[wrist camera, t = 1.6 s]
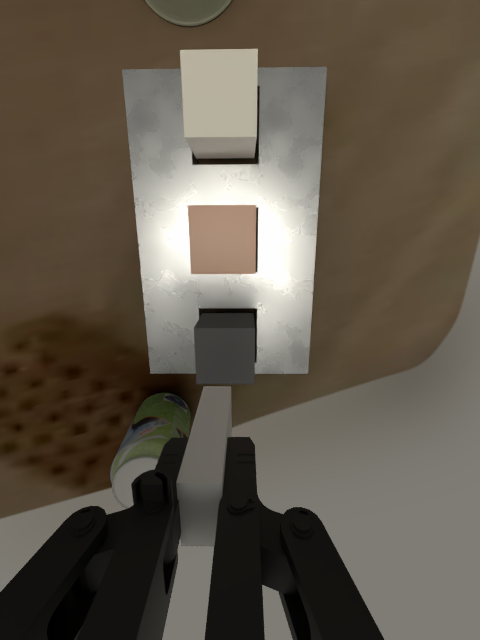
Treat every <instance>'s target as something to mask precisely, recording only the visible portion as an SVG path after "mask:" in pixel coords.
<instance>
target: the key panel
mask: <svg viewBox="0 0 480 640" xmlns="http://www.w3.org/2000/svg"><path fill="white" fill-rule="evenodd" d="M122 73H123V84H124V95H125V105H126V116H127V127H128V138H129V148H130V159H131V170H132V181H133V191H134V202H135V213H136V224H137V234H138V245H139V256H140V267H141V277H142V288H143V299H144V309H145V320H146V331H147V342H148V352H149V363H150V373H158V374H196V367H195V346H194V327H195V325H196V323H197V322H198V320H199V318H200V316H201V315H202V313H203V308H256V351H255V374H308V365H309V349H310V333H311V316H312V300H313V284H314V268H315V252H316V235H317V219H318V203H319V187H320V171H321V154H322V138H323V122H324V106H325V90H326V73H327V67H281V68H257V103H258V148H257V164H229V165H198V164H197V159H196V157H195V155H194V154H193V152H192V150H191V148H190V147H189V145H188V143H187V141H186V140H185V138H184V120H183V99H182V79H181V69H131V70H122ZM188 205H256V211H257V249H256V274H191V264H190V243H189V223H188Z"/></svg>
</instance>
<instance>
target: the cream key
mask: <svg viewBox="0 0 480 640" xmlns="http://www.w3.org/2000/svg"><path fill="white" fill-rule="evenodd" d="M180 58H181V79H182V99H183V120H184V138H185V140H186V141H187V143H188V145H189V147H190V148H191V150H192V152H193V154H194V155H195V157H196V159H199V158H254V156H255V148H256V140H257V64H258V49H220V50H180Z"/></svg>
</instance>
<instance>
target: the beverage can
mask: <svg viewBox="0 0 480 640" xmlns="http://www.w3.org/2000/svg"><path fill="white" fill-rule="evenodd" d="M190 421H191V413H190V409H189V407H188V405H187V404H186V402H185V401H184V400H183V399H181V398H180V397H179V396H176V395H174V394H171V393H158V394H154V395H152V396H150V397H148V398H147V399H146V400H145V401H143V403H142V404H141V405H140V407H139V409H138V411H137V413H136V415H135V417H134V419H133V421H132V423H131V425H130V427H129V430H128V432H127V434H126V436H125V438H124V440H123V442H122V444H121V446H120V448H119V450H118V452H117V454H116V456H115V458H114V461H113V463H112V466H111V471H110V479H111V484H112V490H113V494H114V497H115V498H116V500H117V502H118V503H119V504H120V505H121V506H122V507H124V508H125V509H128V508H130V507H131V506H133V505H134V503H133V496H132V488H131V484H132V482H133V481H134V479H135V478H136V477H138V476H139V475H140V474H142V473H144V472H146V471H149V470H154V469H155V467H156V464H157V463H158V459H159V457H160V455H161V452H162V449H163V447H164V445H165V444H166V443H167V442H168V441H169V440H170V439H171V438H172V437H175V438H189V431H190Z"/></svg>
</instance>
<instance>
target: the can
mask: <svg viewBox="0 0 480 640" xmlns="http://www.w3.org/2000/svg"><path fill="white" fill-rule="evenodd" d="M231 1H232V0H145V2H146V3H147V4H148V5H149V7H150V8H151V9H152V10H153V11H154V12H155V13H156V14H158V15H159V16H160V17H162V18H163V19H165V20H167V21H169V22H171V23H173V24H176V25H180V26H198V25H202V24H205V23H207V22H209V21H211V20H213V19H215V18H216V17H217V16H218V15H220V14H221V13H222V12H223V11H224V10H225V9H226V8H227V7H228V5H229V4H230V2H231Z"/></svg>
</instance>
